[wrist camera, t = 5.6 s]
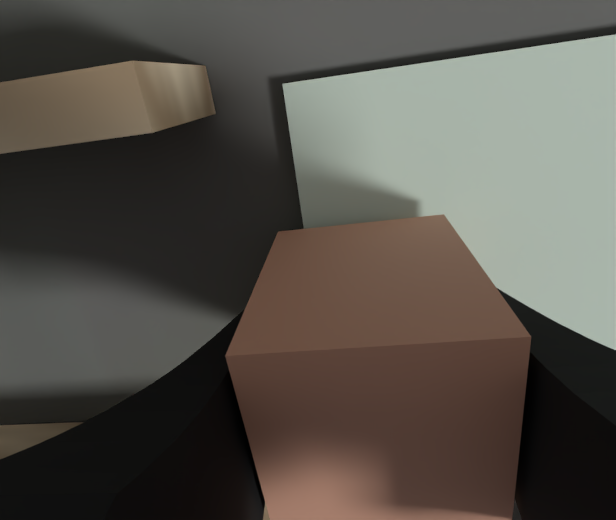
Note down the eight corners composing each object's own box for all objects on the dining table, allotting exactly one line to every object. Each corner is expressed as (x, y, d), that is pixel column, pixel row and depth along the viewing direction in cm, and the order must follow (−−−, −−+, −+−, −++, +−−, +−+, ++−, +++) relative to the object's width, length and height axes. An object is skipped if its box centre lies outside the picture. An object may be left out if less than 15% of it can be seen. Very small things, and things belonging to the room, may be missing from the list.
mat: (680, 409, 14) (689, 418, 13) (333, 422, 15) (333, 430, 15) (810, 5, 9) (829, 2, 9) (284, 83, 11) (281, 83, 10)
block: (443, 352, 12) (510, 536, 7) (301, 360, 13) (274, 536, 8) (443, 214, 11) (531, 336, 6) (277, 231, 11) (225, 356, 6)
